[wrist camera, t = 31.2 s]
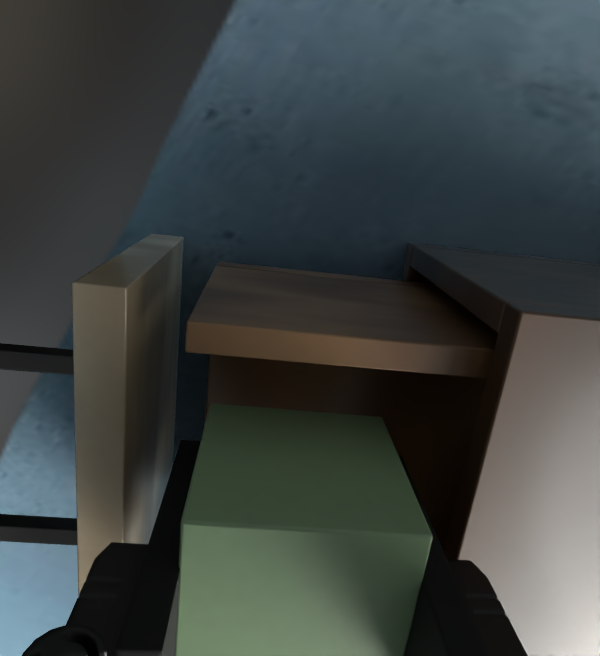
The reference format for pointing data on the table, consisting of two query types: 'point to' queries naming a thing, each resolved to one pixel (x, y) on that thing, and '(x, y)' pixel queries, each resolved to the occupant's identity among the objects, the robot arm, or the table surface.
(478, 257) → the cabinet
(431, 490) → the drawer
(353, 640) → the block
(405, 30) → the table surface
